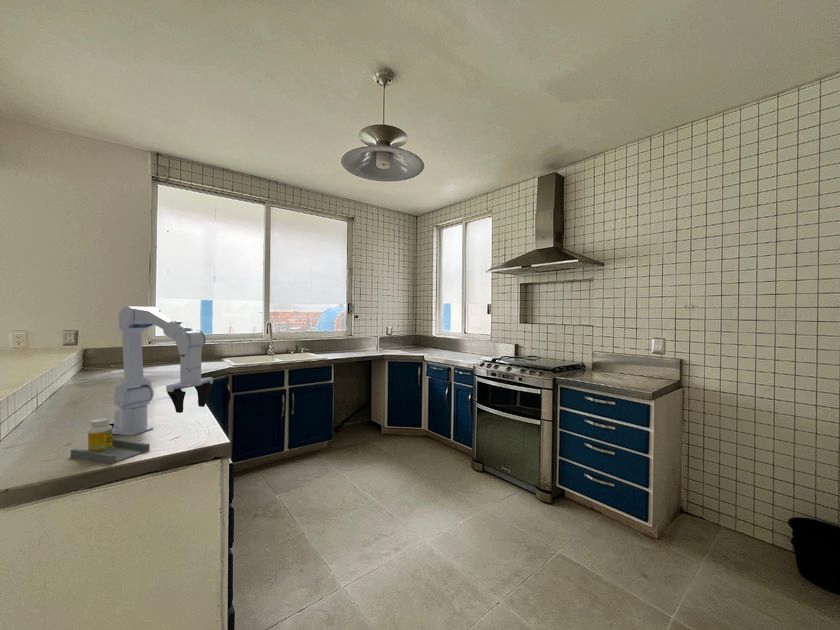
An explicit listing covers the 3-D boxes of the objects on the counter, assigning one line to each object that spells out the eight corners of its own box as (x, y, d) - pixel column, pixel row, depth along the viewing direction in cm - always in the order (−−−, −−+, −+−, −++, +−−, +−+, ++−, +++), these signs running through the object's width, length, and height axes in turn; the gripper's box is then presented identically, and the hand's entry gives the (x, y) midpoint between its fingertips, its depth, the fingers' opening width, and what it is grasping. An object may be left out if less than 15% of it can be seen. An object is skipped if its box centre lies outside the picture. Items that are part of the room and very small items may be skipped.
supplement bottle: (92, 450, 105) (92, 418, 105) (115, 447, 108) (115, 416, 108) (84, 456, 100) (84, 423, 100) (108, 453, 103) (108, 421, 103)
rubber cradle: (70, 456, 100) (70, 449, 100) (110, 444, 110) (110, 438, 110) (111, 464, 95) (111, 456, 95) (149, 450, 105) (149, 443, 105)
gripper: (177, 371, 106) (177, 416, 106) (219, 365, 119) (219, 404, 119) (161, 370, 108) (161, 414, 108) (204, 364, 122) (204, 403, 122)
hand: (190, 409), depth 114 cm, fingers open, 7 cm apart
